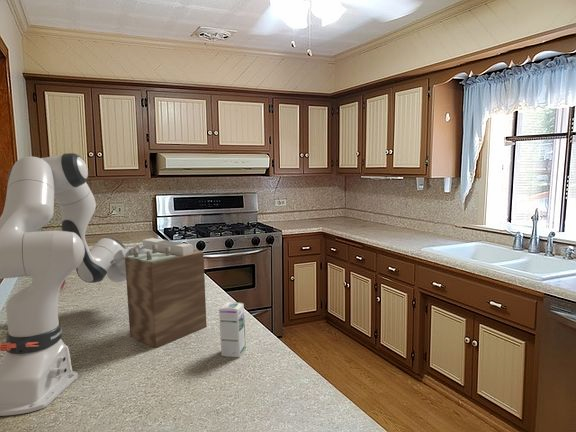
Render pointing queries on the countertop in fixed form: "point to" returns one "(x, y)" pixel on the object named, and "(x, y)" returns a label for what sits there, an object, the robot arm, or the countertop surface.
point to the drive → (174, 246)
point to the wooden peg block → (165, 295)
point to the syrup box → (232, 329)
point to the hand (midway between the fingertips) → (153, 243)
